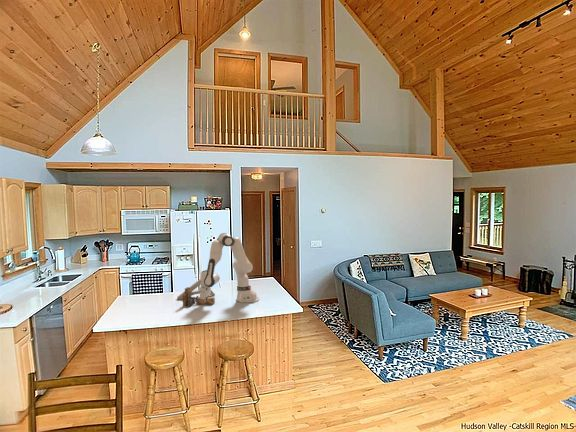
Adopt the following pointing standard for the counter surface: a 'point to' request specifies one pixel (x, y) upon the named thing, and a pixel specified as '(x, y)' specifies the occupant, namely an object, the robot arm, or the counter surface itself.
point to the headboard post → (188, 298)
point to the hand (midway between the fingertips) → (206, 301)
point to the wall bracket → (193, 289)
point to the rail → (208, 300)
